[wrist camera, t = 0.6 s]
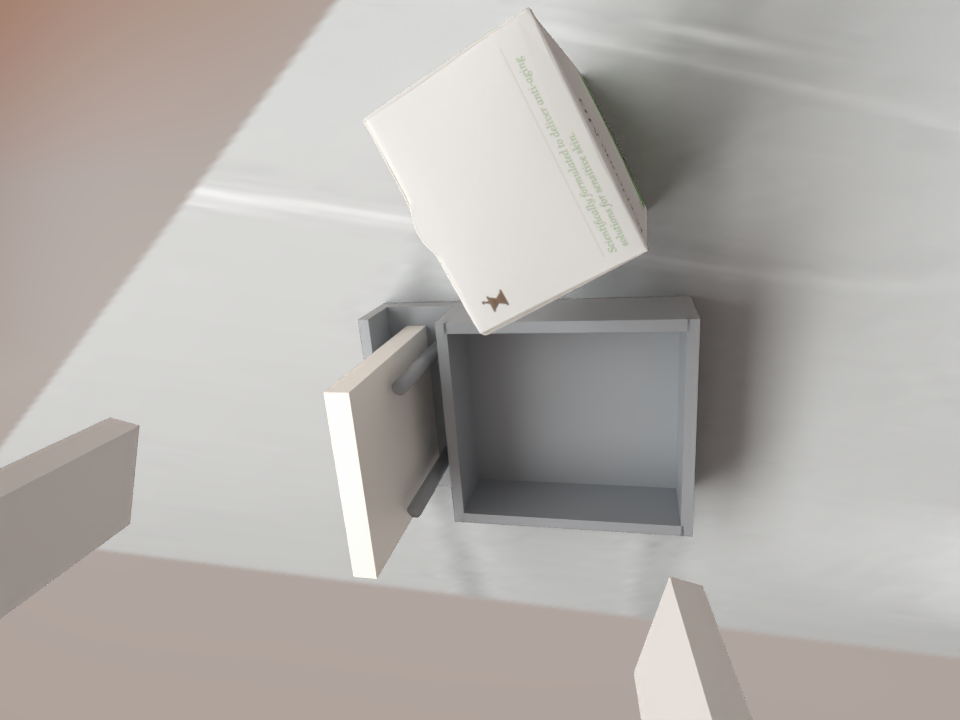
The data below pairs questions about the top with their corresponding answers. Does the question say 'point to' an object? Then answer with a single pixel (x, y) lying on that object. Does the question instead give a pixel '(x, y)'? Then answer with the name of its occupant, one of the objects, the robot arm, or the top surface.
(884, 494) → the top surface
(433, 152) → the skincare box
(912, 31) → the top surface
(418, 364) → the grey open box
